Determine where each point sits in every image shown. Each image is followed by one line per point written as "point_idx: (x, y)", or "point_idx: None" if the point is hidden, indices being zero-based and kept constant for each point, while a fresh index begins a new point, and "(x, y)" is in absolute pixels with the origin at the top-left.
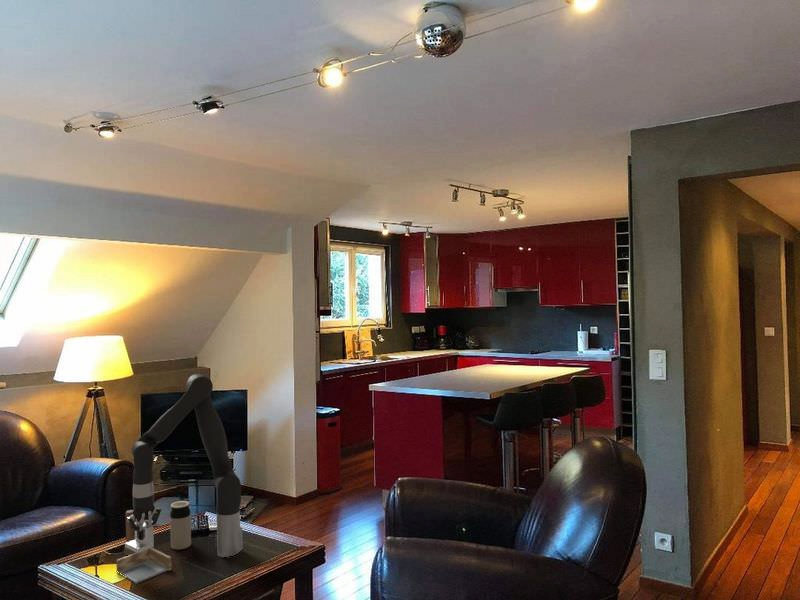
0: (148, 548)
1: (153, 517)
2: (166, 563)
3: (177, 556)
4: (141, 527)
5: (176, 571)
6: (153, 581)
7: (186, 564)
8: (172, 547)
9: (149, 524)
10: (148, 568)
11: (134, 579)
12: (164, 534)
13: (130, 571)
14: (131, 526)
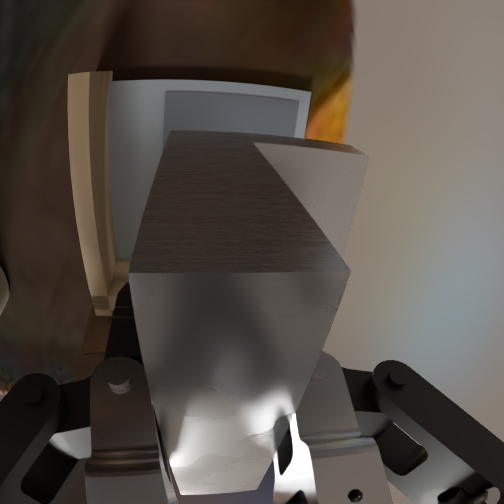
0: (235, 134)
1: (39, 488)
2: (102, 95)
3: (9, 197)
4: (314, 397)
5: (93, 34)
6: (242, 31)
7: (19, 75)
8: (5, 282)
9: (141, 413)
10: None
11: (300, 118)
12: (16, 379)
13: None
14: (402, 439)
